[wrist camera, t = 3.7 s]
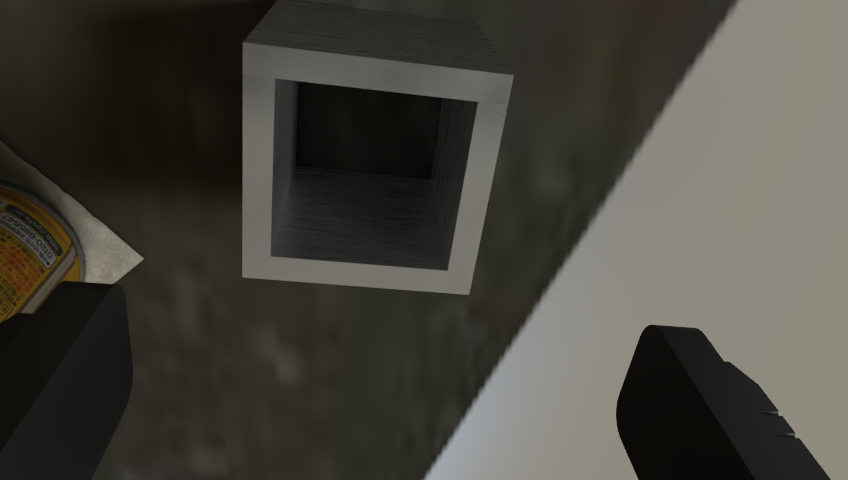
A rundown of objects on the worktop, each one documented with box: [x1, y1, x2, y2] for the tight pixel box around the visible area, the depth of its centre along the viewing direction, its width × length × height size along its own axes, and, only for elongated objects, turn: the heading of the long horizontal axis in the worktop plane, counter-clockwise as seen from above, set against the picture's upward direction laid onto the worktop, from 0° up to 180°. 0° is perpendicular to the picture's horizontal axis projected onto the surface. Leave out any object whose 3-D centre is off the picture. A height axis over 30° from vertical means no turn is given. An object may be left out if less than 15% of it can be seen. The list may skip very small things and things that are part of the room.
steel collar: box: [242, 0, 514, 295], centre depth 18 cm, size 6×6×6 cm
